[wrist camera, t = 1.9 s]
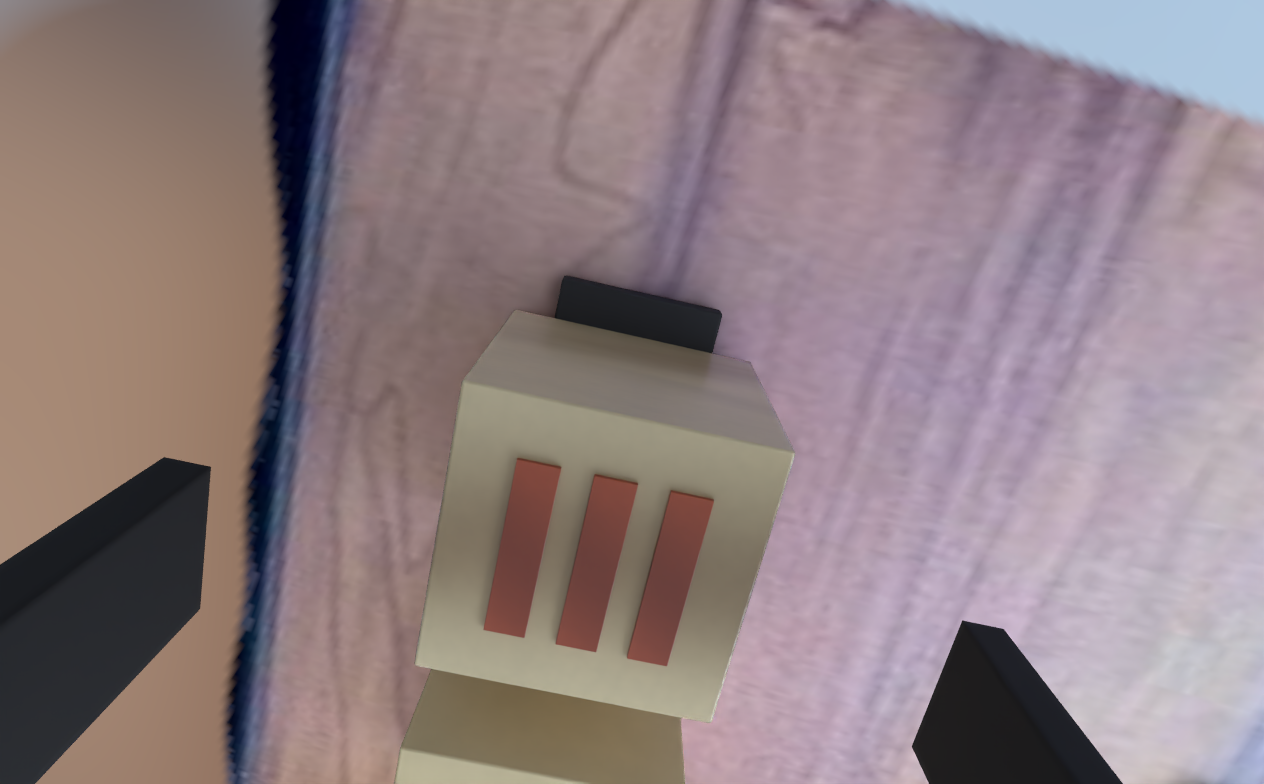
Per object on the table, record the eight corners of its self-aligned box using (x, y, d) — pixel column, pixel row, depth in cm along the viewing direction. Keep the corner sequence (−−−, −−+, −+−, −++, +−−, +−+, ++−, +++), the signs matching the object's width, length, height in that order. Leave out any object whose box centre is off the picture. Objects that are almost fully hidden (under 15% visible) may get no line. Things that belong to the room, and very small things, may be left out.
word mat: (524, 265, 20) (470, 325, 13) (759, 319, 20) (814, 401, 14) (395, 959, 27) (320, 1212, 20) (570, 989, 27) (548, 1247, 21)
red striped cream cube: (514, 308, 19) (460, 381, 14) (751, 361, 20) (798, 454, 14) (474, 524, 21) (411, 670, 15) (692, 569, 21) (711, 729, 16)
